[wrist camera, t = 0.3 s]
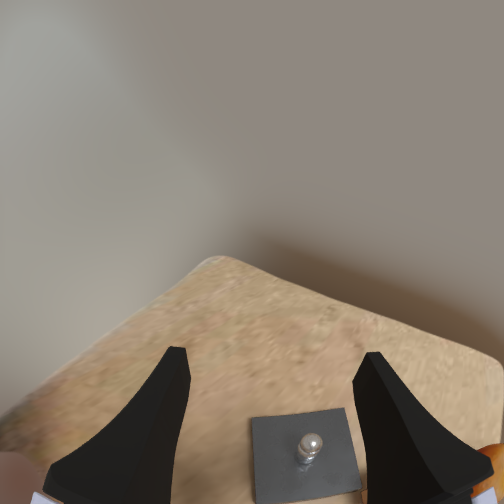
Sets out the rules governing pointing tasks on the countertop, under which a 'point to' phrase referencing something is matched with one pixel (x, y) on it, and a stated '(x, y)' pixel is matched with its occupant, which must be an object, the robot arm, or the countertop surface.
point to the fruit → (500, 458)
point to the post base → (294, 475)
